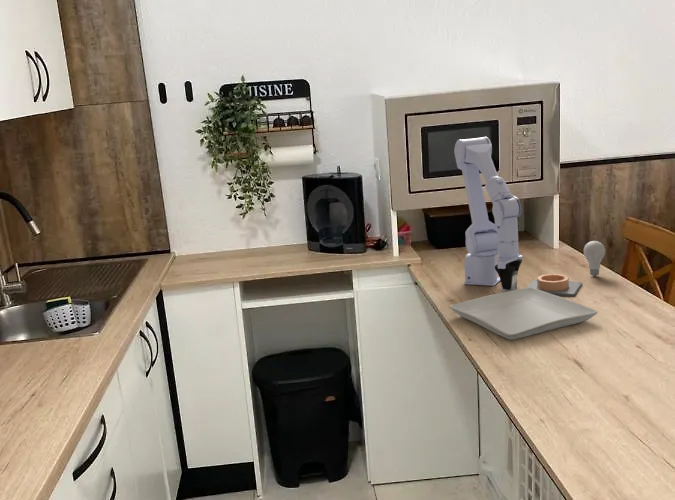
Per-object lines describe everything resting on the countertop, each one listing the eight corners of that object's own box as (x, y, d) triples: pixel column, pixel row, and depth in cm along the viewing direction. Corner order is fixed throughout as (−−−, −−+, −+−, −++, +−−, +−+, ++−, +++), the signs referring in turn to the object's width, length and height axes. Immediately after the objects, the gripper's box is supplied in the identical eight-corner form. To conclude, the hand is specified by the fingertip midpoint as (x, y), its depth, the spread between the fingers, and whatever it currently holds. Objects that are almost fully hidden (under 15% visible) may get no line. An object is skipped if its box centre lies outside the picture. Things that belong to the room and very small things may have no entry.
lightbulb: (606, 279, 214) (606, 243, 212) (585, 279, 216) (584, 243, 213) (603, 273, 220) (603, 238, 218) (582, 274, 221) (582, 239, 219)
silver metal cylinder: (499, 296, 207) (498, 273, 205) (503, 291, 211) (502, 268, 209) (515, 297, 205) (514, 273, 203) (519, 292, 209) (519, 269, 207)
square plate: (447, 318, 194) (446, 304, 193) (530, 298, 204) (530, 285, 203) (509, 348, 170) (508, 332, 169) (600, 324, 180) (600, 309, 179)
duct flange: (523, 293, 208) (523, 282, 207) (533, 281, 218) (533, 271, 217) (573, 296, 201) (573, 285, 200) (582, 284, 211) (581, 273, 210)
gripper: (514, 247, 196) (516, 294, 199) (528, 235, 208) (529, 280, 211) (489, 246, 199) (491, 293, 203) (504, 234, 212) (505, 279, 215)
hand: (509, 286), depth 207 cm, fingers closed on silver metal cylinder, 4 cm apart
